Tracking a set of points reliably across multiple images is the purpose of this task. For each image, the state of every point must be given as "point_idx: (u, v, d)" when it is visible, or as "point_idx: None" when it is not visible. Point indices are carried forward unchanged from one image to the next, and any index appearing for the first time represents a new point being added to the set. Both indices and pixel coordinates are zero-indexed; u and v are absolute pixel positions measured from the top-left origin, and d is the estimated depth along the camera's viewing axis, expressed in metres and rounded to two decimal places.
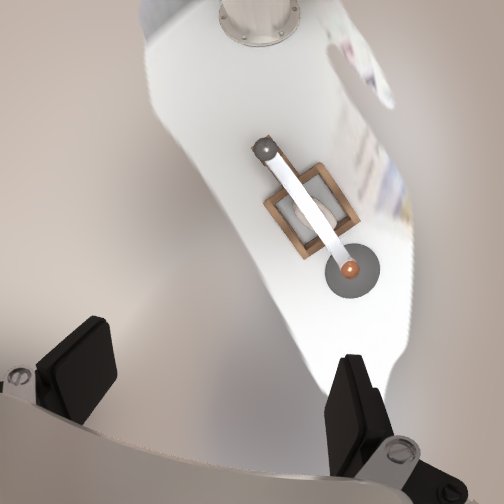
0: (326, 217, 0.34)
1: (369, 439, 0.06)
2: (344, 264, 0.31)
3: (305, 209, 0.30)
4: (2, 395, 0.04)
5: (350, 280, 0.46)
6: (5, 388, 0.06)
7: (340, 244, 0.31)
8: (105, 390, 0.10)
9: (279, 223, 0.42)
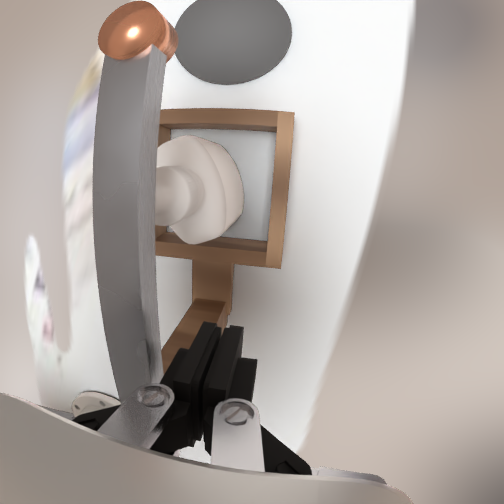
0: None
1: (213, 397, 0.08)
2: (129, 55, 0.06)
3: (128, 299, 0.09)
4: (2, 395, 0.04)
5: (244, 21, 0.17)
6: (128, 401, 0.07)
7: (100, 125, 0.07)
8: None
9: (282, 213, 0.19)
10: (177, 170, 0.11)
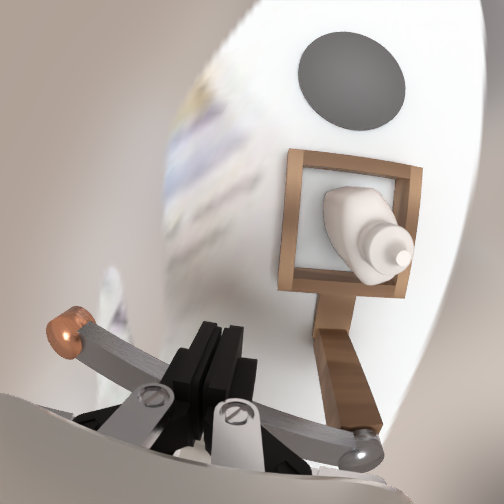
0: (373, 249, 0.13)
1: (213, 397, 0.08)
2: (79, 346, 0.11)
3: None
4: (2, 395, 0.04)
5: (366, 70, 0.20)
6: (128, 401, 0.07)
7: (116, 380, 0.12)
8: None
9: None
10: (404, 229, 0.13)
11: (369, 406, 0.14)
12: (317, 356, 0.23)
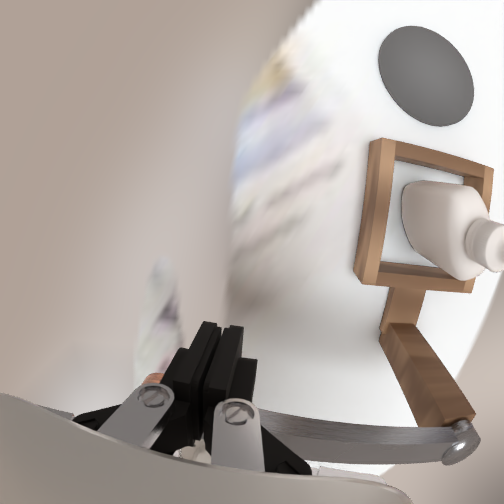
0: (489, 247, 0.11)
1: (213, 397, 0.08)
2: None
3: (347, 449, 0.10)
4: (2, 395, 0.04)
5: (441, 67, 0.17)
6: (128, 401, 0.07)
7: None
8: None
9: None
10: None
11: (460, 398, 0.13)
12: (389, 351, 0.21)
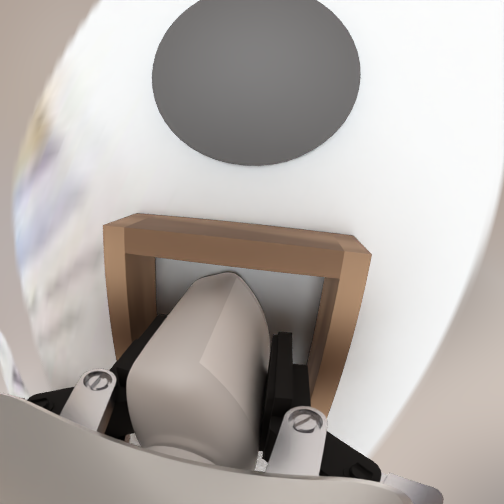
0: None
1: (278, 406, 0.08)
2: None
3: None
4: (2, 395, 0.04)
5: (278, 46, 0.10)
6: (77, 388, 0.07)
7: None
8: None
9: (329, 395, 0.12)
10: None
11: None
12: None
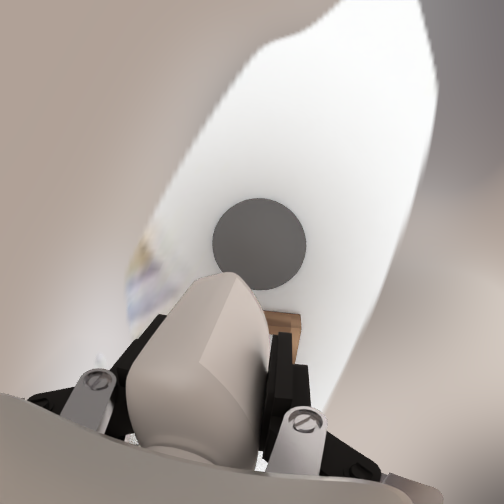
0: None
1: (278, 406, 0.08)
2: None
3: None
4: (2, 395, 0.04)
5: (270, 238, 0.29)
6: (77, 388, 0.07)
7: None
8: None
9: None
10: None
11: None
12: None
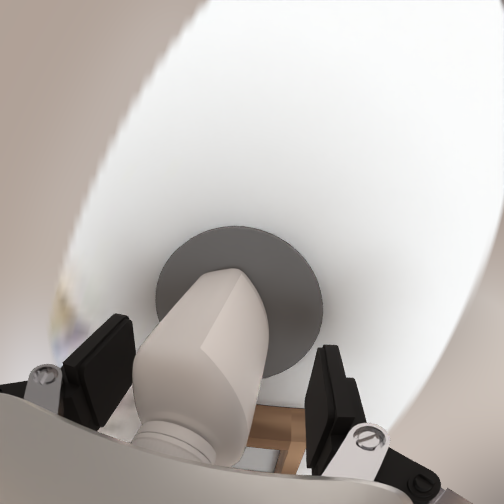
0: None
1: (339, 425, 0.07)
2: None
3: None
4: (2, 395, 0.04)
5: None
6: (29, 386, 0.06)
7: None
8: (127, 387, 0.11)
9: None
10: None
11: None
12: None
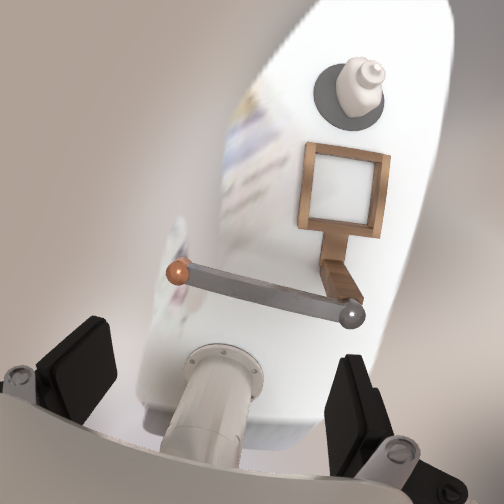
0: (363, 68, 0.22)
1: (369, 439, 0.06)
2: (188, 274, 0.25)
3: (272, 294, 0.25)
4: (2, 395, 0.04)
5: None
6: (5, 388, 0.06)
7: (210, 288, 0.25)
8: (105, 390, 0.10)
9: (382, 208, 0.33)
10: (379, 64, 0.21)
11: (355, 291, 0.27)
12: (323, 276, 0.36)
